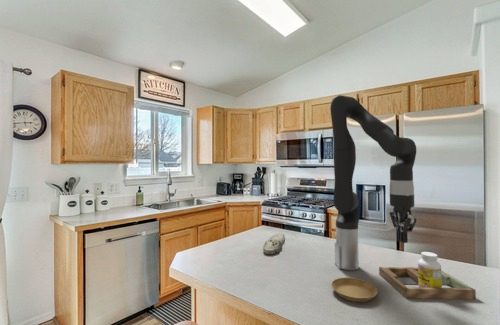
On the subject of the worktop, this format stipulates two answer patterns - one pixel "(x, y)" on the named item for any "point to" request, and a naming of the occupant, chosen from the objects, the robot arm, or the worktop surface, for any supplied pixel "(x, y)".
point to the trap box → (410, 276)
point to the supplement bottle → (429, 271)
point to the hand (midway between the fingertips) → (402, 241)
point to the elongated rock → (274, 244)
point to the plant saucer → (354, 289)
